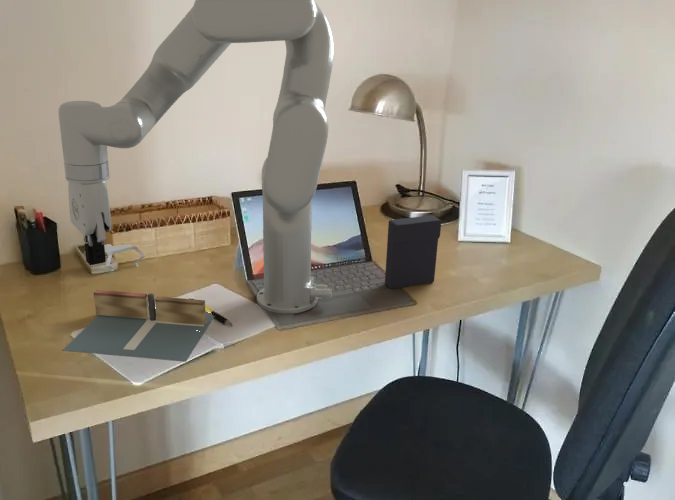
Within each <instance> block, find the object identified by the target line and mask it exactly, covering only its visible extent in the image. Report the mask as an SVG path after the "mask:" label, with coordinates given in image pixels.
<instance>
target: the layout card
mask: <svg viewBox="0 0 675 500" xmlns="http://www.w3.org/2000/svg"><path fill="white" fill-rule="evenodd" d="M148 308H149V305H148ZM215 312H216V314H218V311H215ZM214 318H215V316H213V315H212V314H211V313H208V312H206V324H205V325H196V324H184V323H172V322H160V321H157V315H156V320H155V321H151V320H150V315H149V317H148V318H147V319H142V318H130V317H118V316H106V315H96V317H94V319H93V320H92V321H91V322H90V323H89V324H88V325H87V326H86V327H84V328H83V329H82V330H81V332H80V333H78V335H76V336H75V337H74V338H73V340H72V341H70V343H68V344H67V345H66V346H65V347H64V349H62V351H64V352H75V353H76V352H77V353H86V354H98V355H108V356H110V355H111V356H117V357H118V356H120V357H131V358H141V359H155V360H165V361H174V362H175V361H176V362H187V360H188V359H189V358H190V356H191V354H192V352H193V351H194V349H195V348H196V347H197V345H198V343H199V342H200V341H201V338H202V337H203V335H204V334H205V332H206V331H207V329H208V327H209V326H210V324H211V323H212V321H213V320H214ZM196 330H198V331H196ZM199 331H200V332H199Z"/></svg>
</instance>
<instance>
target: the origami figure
mask: <svg viewBox="0 0 675 500" xmlns="http://www.w3.org/2000/svg"><path fill="white" fill-rule="evenodd" d="M111 244H112V243H111ZM111 244H110V243H107V244H104V247H105V255H107V258H106V261H105V265H104V266H105V268H107V269H110V270H109V271H110V272H114V270H115V267H113V266H112V265H111V263H110V262H111V258H112V255H116V254H120V253H123V252H124V253H125V252H127V251H132V250H134V251H136V253H138V254H140V255H141V257H139V258H138V260H136V261H135V262H134V265H135V267H136V268H138V267H139V262H140V261H142V260H143V259H144V258H146V255H145V254H144V253H143V252H142V251H141V249H140V248H139V247H137V246H136V245H131V244H124V243H123V244H124V245H117V246H112V245H111Z"/></svg>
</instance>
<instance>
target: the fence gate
mask: <svg viewBox="0 0 675 500" xmlns="http://www.w3.org/2000/svg"><path fill="white" fill-rule="evenodd" d="M93 299H94V300H93V301H94V306H95V313H96V316H98V315H106V316H118V317H130V318H142V319H147V318H148V317H149V308H148V306H149V305H148V293H141V292H127V291H117V290H104V289H95V290H94V292H93Z"/></svg>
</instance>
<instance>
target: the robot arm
mask: <svg viewBox="0 0 675 500" xmlns="http://www.w3.org/2000/svg"><path fill="white" fill-rule="evenodd" d="M331 29H332V28H331V27H330V25H329V21H328V20H327V17H326V15H325V13H324V12H323V10H322V9H321V8H320V7H319V5H318V3H317V2H315V1H314V0H195V1H194V3H193V6H192V7H191V8H190V10H188V12H187V13H186V14H185V15H184V17H183V18H182V20H180V21H179V23H178V24H177V25H176V26H175V28H174V29H172V31H171V32H170V33H169V34H168V35H167V36H166V38H165V39H164V40H163V41H162V42H161V43H160V44H159V46H158V47H157V48H156V50H155V51H154V54H153V56H152V58H151V61H150V63H149V65H148V66H147V68H146V70H144V72H143V73H142V75H141V76H140V77H139V78H138V80H137V81H136V82H135V83H134V84H133V86H132V87H131V88H130V89H129V90H128V91H127V93H125V94H124V95H123V97H122V98H121V99H120V100H119V101H118V102H116V103H115V104H113V105H110V106H102V105H101V104H100V103H98V102H95V101H89V100H70V101H65V102H63V103H61V104H60V105H59V108H58V111H57V112H58V120H59V121H58V122H59V131H60V140H61V150H62V156H63V165H64V175H65V181H67V182H68V185H67V186H68V187H67V189H68V191H67V193H68V204H69V206H68V208H69V219H70V222H71V224H72V225H73V227H75V228H76V230H78V231H79V232H80V233H81V234H82V236H83V241H84V252H85V260H86V263H87V264H88V265H89V266H93V265H95V264H96V265H99V264H103V263H106V261H107V258H106V254H105V247H104V245H105V242H106V241H107V235H106V233H110V231H112V215H111V207H110V200H109V193H108V187H107V182H106V181H108V180H109V179H110V167H109V155H108V154H109V153H108V147H111V148H114V149H115V148H116V149H130V148H134V147H135V146H137V145H139V144H140V143H141V142H142V141H143V140H144V139H145V137H146V136H147V135H148V134H149V132H151V130H152V129H153V128H154V127H155V125H156V124H158V122H159V121H161V119H162V118H163V116H164V115H165V114H166V113H167V112H168V110H169V109H171V108H172V107H173V105H174V104H175V103H176V101H178V100H179V98H180V97H182V96H183V95H184V94H185V93H186V92H188V91H189V90H190V89H192V88H193V87H194V86H195V85H196V84H197V83H198V82H199V81H200V80H201V79H202V77H203V76H204V75H205V74H206V73H207V71H209V69H210V68H211V67H212V65H214V64H215V62H216V61H218V59H219V57H221V56H222V55H223V53H224V52H225V51H226V50H227V48H228V47H230V46H231V44H241V43H242V44H244V43H245V44H246V43H247V44H248V43H262V42H279V41H282V42H284V43H285V53H286V54H285V58H284V59H285V61H284V65H283V74H282V78H281V79H282V80H281V83H280V90H279V94H278V98H277V102H276V105H275V108H274V111H273V117H272V132H271V136H270V137H271V138H270V141H269V146H268V152H267V157H266V158H265V160H264V162H263V164H262V168H261V190H262V191H261V192H262V193H261V194H262V227H263V228H262V235H263V236H262V240H263V241H262V245H263V247H262V248H263V249H262V251H263V288H261V289H260V290H259V291H258V292H257V294H256V302H257V305H259V307H260V308H261V309H264V310H265V311H269V312H272V313H277V314H300V313H304V312H307V311H309V310H311V309H313V308H314V307H315V306H317V304H318V302H319V298H322V299H332V295H333V289H332V288H328V284H323V283H322V284H317V282H315V276H312V275H311V274H312V273H311V272H312V270H311V269H312V228H313V227H312V217H313V215H312V213H313V211H312V210H313V207H312V206H313V202H312V200H313V199H314V196H315V194H316V191H317V187H318V184H319V179H320V174H321V171H322V165H323V161H324V157H325V152H326V149H327V148H326V147H327V142H328V138H329V120H328V117H327V113H326V111H325V110H326V103H327V98H328V94H329V88H330V82H331V75H332V71H333V65H334V64H333V63H334V57H335V56H334V55H335V54H334V51H335V46H334V38H333V37H334V36H333V34H332V30H331ZM96 265H95V266H96Z"/></svg>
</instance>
